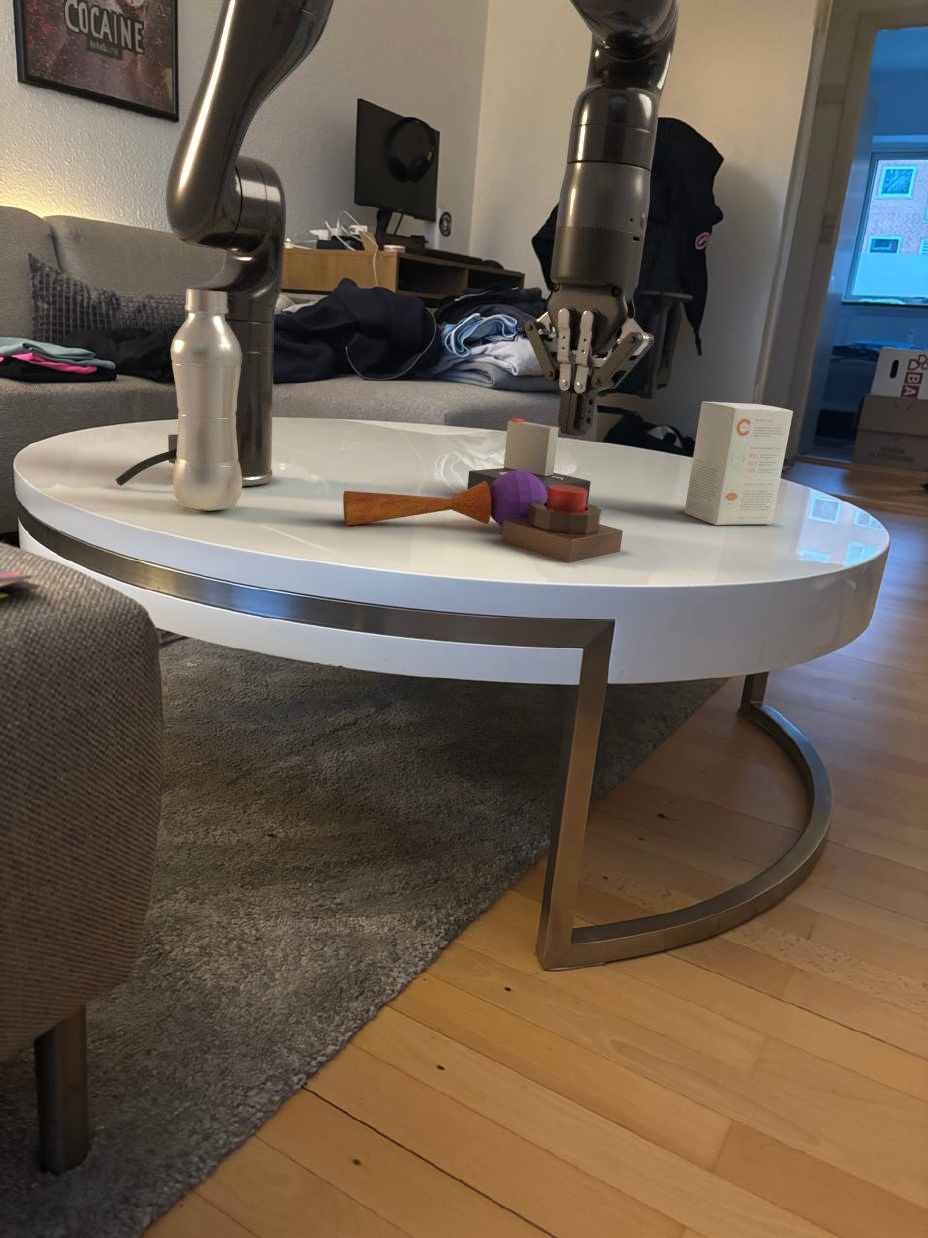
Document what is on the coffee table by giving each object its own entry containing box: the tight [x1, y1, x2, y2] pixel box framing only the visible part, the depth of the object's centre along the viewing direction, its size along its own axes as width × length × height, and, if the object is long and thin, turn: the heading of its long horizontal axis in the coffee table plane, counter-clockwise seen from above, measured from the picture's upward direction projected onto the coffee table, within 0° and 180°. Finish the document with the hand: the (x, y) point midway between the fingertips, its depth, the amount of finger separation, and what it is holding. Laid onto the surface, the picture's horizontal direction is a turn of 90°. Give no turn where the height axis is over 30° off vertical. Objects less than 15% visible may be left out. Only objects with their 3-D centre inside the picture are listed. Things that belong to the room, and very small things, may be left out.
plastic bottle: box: [170, 288, 243, 512], centre depth 85 cm, size 6×7×20 cm
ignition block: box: [500, 499, 624, 564], centre depth 85 cm, size 8×8×4 cm
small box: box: [684, 400, 794, 526], centre depth 104 cm, size 8×6×13 cm
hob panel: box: [466, 462, 592, 504], centre depth 107 cm, size 12×12×3 cm
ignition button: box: [546, 485, 587, 512], centre depth 84 cm, size 4×4×2 cm
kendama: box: [342, 470, 547, 529], centre depth 89 cm, size 6×6×20 cm
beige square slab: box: [503, 417, 560, 476], centre depth 107 cm, size 6×2×6 cm, turn 50°
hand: (573, 434), depth 83 cm, fingers closed
